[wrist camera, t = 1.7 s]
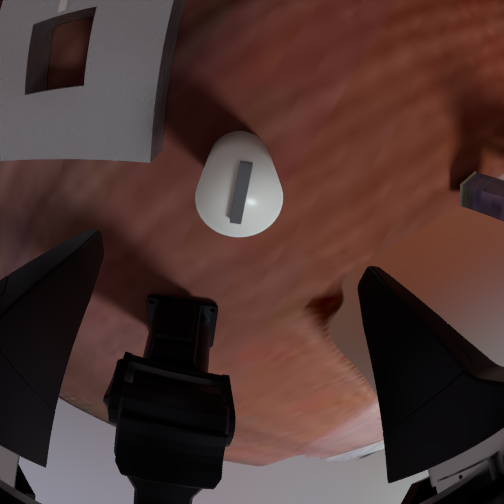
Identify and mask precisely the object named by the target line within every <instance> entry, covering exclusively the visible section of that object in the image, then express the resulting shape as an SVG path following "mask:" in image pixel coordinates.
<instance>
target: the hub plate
mask: <svg viewBox="0 0 504 504" xmlns="http://www.w3.org/2000/svg"><path fill="white" fill-rule="evenodd" d="M185 1H186V0H3V3H2V6H1V10H0V161H7V160H27V159H95V160H118V161H134V162H148V163H150V162H151V161H152V160H153V159H154V158H155V157H156V156H157V155H158V154H159V153H160V152H161V151H162V141H163V130H164V120H165V111H166V103H167V95H168V88H169V81H170V74H171V68H172V62H173V57H174V51H175V46H176V41H177V36H178V31H179V26H180V22H181V18H182V13H183V9H184V5H185ZM93 16H94V21H93V25H92V30H91V36H90V41H89V47H88V54H87V61H86V70H85V79H84V85H75V86H67V87H60V88H54V89H48V90H46V88H47V74H48V64H49V56H50V49H51V42H52V37H53V31H54V26H56V25H59V24H63V23H67V22H71V21H75V20H79V19H83V18H88V17H93Z"/></svg>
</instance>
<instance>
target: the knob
mask: <svg viewBox="0 0 504 504" xmlns="http://www.w3.org/2000/svg"><path fill="white" fill-rule="evenodd" d="M195 202H196V207H197V210H198V213H199V215H200V217H201V218H202V220H203V221H204V222H205V223H206V224H207V225H208V226H209V227H210V228H211V229H213V230H215V231H216V232H218V233H220V234H223V235H226V236H231V237H247V236H252V235H255V234H258V233H260V232H262V231H264V230H265V229H267V228H268V227H269V226H270V225H271V224H272V223H273V222H274V221H275V220H276V218H277V217H278V215H279V213H280V211H281V208H282V204H283V192H282V187H281V184H280V182H279V179H278V176H277V173H276V170H275V167H274V165H273V162H272V159H271V156H270V154H269V151H268V149H267V146H266V145H265V143H264V142H263V141H262V140H261V139H260V138H259V137H258V136H256V135H254V134H252V133H250V132H246V131H234V132H230V133H227V134H225V135H223V136H222V137H220V138H219V139H218V140H217V141H216V142H215V143H214V145H213V147H212V149H211V151H210V154H209V156H208V159H207V161H206V164H205V167H204V169H203V172H202V175H201V177H200V180H199V183H198V186H197V189H196V194H195Z"/></svg>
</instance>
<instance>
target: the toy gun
mask: <svg viewBox="0 0 504 504" xmlns="http://www.w3.org/2000/svg"><path fill="white" fill-rule="evenodd" d="M459 206H463V207H466V208H469V209H472V210H474V211H477V212H480V213H483V214H486V215H488V216H491V217H494V218H496V219H499V220H502V221H504V181H503V180H501V179H497V178H494V177H490V176H487V175H483V174H479V173H477V172H476V171H475V172H473V173H472V174H471V175H470V176H469V177H468V178H467V179H466V180H464V181H463V182H462V183H461V184H460V202H459Z"/></svg>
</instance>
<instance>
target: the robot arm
mask: <svg viewBox="0 0 504 504" xmlns="http://www.w3.org/2000/svg"><path fill="white" fill-rule="evenodd" d="M103 256H104V250H103V243H102V236H101V233H100V231H99V230H92V229H88V230H86V231H84V232H82V233H80V234H78V235H76V236H75V237H73V238H71V239H69V240H67V241H65V242H63V243H61V244H60V245H58V246H56V247H54V248H52V249H51V250H49V251H47V252H45V253H44V254H42V255H40V256H38V257H37V258H35V259H33V260H32V261H30V262H28V263H27V264H25V265H23V266H22V267H20V268H19V269H17V270H15V271H14V272H12V273H11V274H9V276H6V277H4V278H3V279H1V280H0V504H41V503H39V502H37V501H35V494H34V492H33V490H32V489H31V487H30V485H29V483H28V481H27V480H26V478H25V476H24V474H23V472H22V470H21V468H20V466H19V464H18V462H19V457H20V456H21V457H23V458H25V459H27V460H30V461H32V462H34V463H36V464H38V465H41V466H43V467H46V464H47V457H48V449H49V442H50V436H51V431H52V425H53V420H54V415H55V409H56V405H57V400H58V397H59V392H60V388H61V385H62V381H63V377H64V374H65V370H66V367H67V363H68V360H69V357H70V354H71V350H72V347H73V344H74V341H75V338H76V336H77V333H78V330H79V327H80V324H81V322H82V319H83V316H84V314H85V311H86V308H87V306H88V303H89V301H90V298H91V295H92V292H93V289H94V285H95V282H96V279H97V276H98V272H99V269H100V266H101V263H102V260H103ZM358 295H359V301H360V307H361V314H362V321H363V327H364V332H365V336H366V340H367V345H368V349H369V354H370V359H371V363H372V368H373V373H374V379H375V384H376V390H377V395H378V401H379V408H380V414H381V421H382V428H383V431H384V432H383V437H384V446H385V455H386V467H387V479H388V483H392V482H395V481H398V480H401V479H404V478H406V477H409V476H412V475H414V474H417V473H420V472H422V471H425V470H427V469H428V473H429V476H428V477H426V478H424V479H422V480H420V481H417V482H415V483H413V484H412V485H411V487H410V488H409V490H408V492H407V494H406V496H405V498H404V499H403V501H402V503H401V504H504V367H502V366H499V365H497V364H495V363H494V362H493V361H491V360H490V359H489V358H488V357H487V356H486V355H484V354H483V353H482V352H481V351H479V350H478V349H477V348H476V347H475V346H474V345H472V344H471V343H470V342H469V341H468V340H466V339H465V338H464V337H463V336H462V335H461V334H459V333H458V332H457V331H456V330H455V329H454V328H453V327H451V326H450V325H449V324H447V322H446V321H444V320H443V319H442V318H441V317H440V316H439V315H438V314H436V313H435V312H434V311H433V310H432V309H430V308H429V307H428V306H427V305H426V304H425V303H423V302H422V301H421V300H420V299H418V298H417V297H416V296H415V295H414V294H412V293H411V292H410V291H409V290H407V289H406V288H405V287H404V286H403V285H401V284H400V283H399V282H397V281H396V280H395V279H394V278H392V277H391V276H390V275H389V274H387V273H386V272H385V271H383V270H382V269H381V268H379V267H375V266H369V267H367V268H366V270H365V272H364V274H363V276H362V278H361V280H360V281H359V284H358ZM152 300H153V301H152ZM146 304H147V312H148V319H149V326H150V330H149V334H148V338H147V342H146V346H145V350H144V355H143V358H142V357H139V356H135V355H132V353H129V352H125V354H124V357H123V359H120V360H118V361H117V365H116V368H115V372H114V375H113V378H112V380H111V382H110V384H109V387H108V389H107V391H106V393H105V395H104V399H103V403H104V404H105V406H106V407H107V409H108V415H109V424H111V425H114V426H116V436H115V447H114V453H115V456H116V458H115V462H116V464H117V466H118V469H119V471H120V473H121V474H122V475H125V476H127V477H128V479H129V480H130V482H131V484H132V485H133V487H134V489H135V491H134V504H192V499H193V497H194V496H195V495H197V494H198V493H199V492H200V491H201V490H202V489H214V488H215V487H216V486H217V484H218V483H219V482H220V480H221V478H222V465H223V456H224V451H225V447H227V446H229V445H230V443H231V441H232V439H233V435H234V431H235V409H234V403H233V397H232V391H231V384H230V378H229V375H217V374H212V373H208V364H209V349H210V347H212V346H213V340H214V334H215V327H216V320H217V314H218V306H217V305H216V304H214V303H207V302H199V301H191V300H184V299H177V298H170V297H163V296H156V295H148V296H147V299H146ZM211 308H213V309H211Z"/></svg>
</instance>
